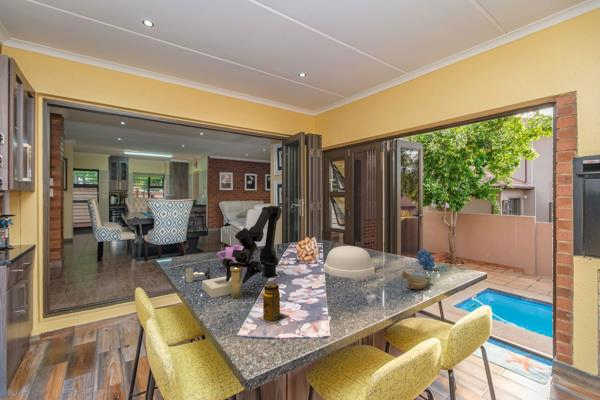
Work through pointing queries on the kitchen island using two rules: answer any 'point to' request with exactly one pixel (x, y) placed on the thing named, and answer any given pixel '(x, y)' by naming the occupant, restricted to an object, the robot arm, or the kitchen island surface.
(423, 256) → the grapes
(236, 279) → the brass bushing
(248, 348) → the kitchen island surface
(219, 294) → the jig plate
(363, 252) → the dome cover
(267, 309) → the condiment
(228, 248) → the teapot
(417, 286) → the oil lamp
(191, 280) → the valve
